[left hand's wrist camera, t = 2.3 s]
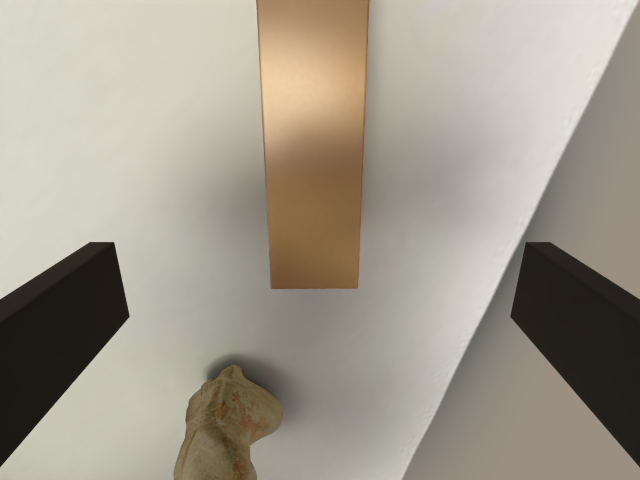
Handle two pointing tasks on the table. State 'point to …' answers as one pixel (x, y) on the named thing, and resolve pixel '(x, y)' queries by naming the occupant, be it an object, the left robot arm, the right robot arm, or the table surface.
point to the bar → (313, 138)
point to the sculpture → (225, 428)
